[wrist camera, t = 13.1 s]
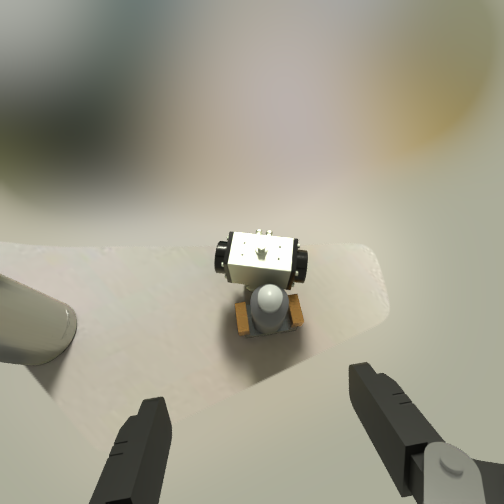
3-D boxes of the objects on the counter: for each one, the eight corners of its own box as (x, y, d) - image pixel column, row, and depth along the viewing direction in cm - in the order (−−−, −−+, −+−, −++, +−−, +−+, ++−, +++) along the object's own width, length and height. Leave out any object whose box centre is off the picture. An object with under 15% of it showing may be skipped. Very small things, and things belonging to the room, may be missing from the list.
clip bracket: (240, 339, 38) (238, 334, 35) (236, 308, 40) (234, 301, 37) (301, 329, 39) (304, 323, 35) (293, 299, 41) (296, 291, 38)
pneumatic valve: (296, 301, 40) (310, 270, 30) (221, 292, 41) (209, 258, 31) (298, 269, 43) (311, 229, 32) (228, 261, 44) (218, 219, 33)
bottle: (254, 336, 37) (253, 319, 28) (249, 305, 39) (247, 280, 31) (286, 331, 37) (294, 313, 29) (279, 300, 40) (286, 274, 31)
